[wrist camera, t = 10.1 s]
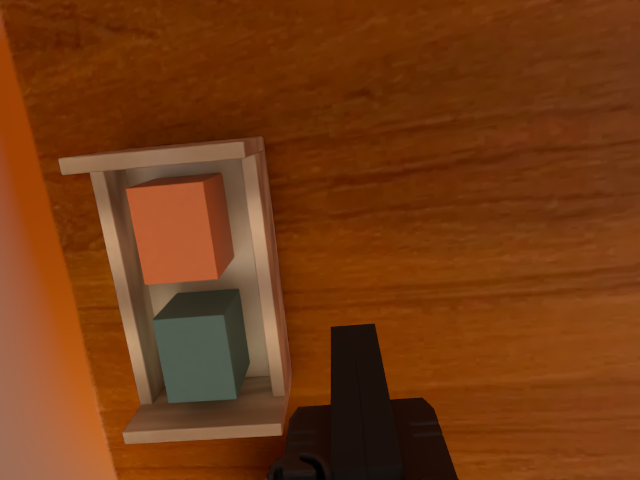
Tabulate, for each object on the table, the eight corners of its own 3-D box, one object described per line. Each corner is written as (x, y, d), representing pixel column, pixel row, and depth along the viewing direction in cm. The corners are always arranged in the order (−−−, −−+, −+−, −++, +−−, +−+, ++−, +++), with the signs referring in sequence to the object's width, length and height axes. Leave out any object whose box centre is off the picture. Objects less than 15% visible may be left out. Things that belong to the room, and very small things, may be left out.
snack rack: (115, 150, 28) (57, 158, 22) (263, 136, 27) (243, 141, 21) (163, 385, 32) (124, 444, 26) (292, 377, 31) (282, 436, 25)
